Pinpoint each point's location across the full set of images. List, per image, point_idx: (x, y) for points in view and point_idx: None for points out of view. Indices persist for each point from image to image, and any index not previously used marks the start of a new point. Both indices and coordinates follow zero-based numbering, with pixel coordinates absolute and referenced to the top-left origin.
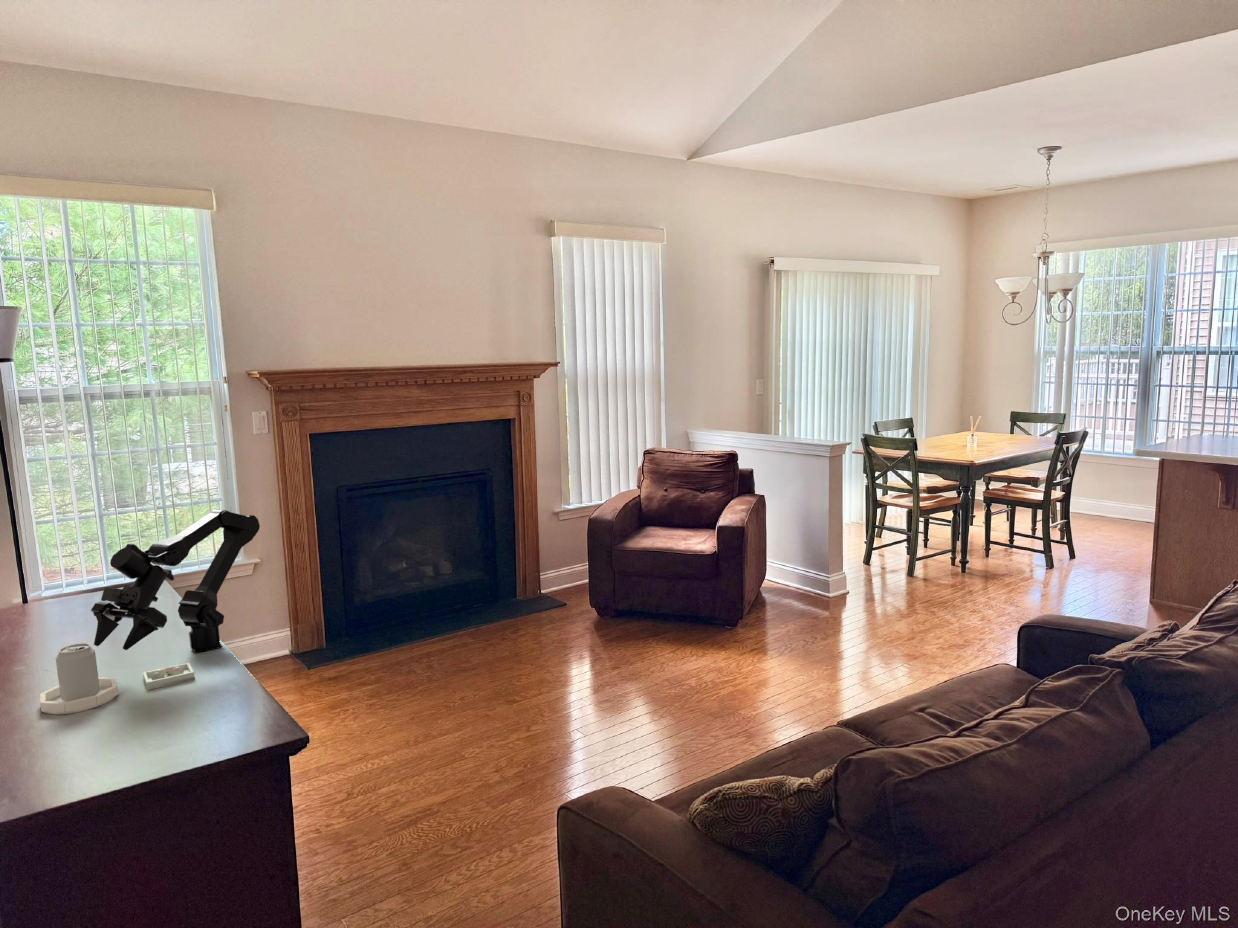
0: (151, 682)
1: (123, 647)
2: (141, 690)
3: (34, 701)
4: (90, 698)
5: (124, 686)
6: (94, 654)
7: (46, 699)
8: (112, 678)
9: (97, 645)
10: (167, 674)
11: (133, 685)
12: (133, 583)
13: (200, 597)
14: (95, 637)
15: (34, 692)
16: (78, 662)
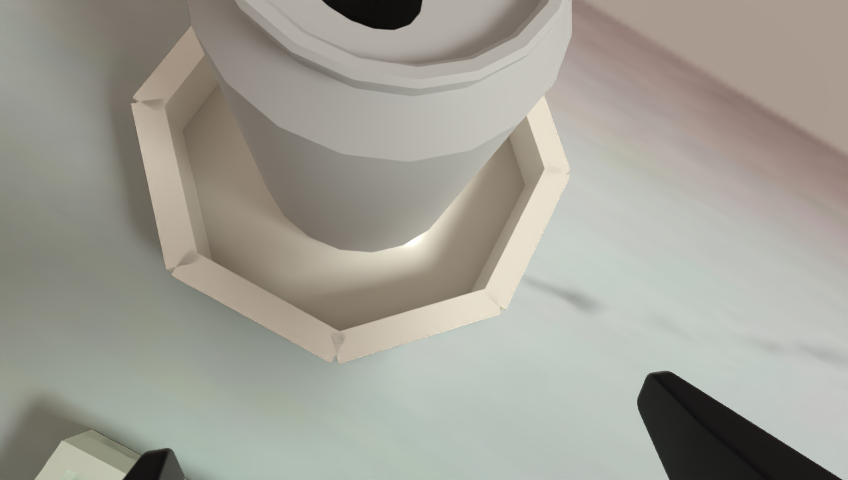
0: (45, 471)
1: (148, 454)
2: (130, 407)
3: (580, 87)
4: (154, 77)
5: (317, 402)
6: (233, 99)
7: None
8: (341, 346)
9: (640, 399)
10: None
11: (273, 439)
12: None
13: None
14: (747, 424)
15: (697, 157)
16: None
